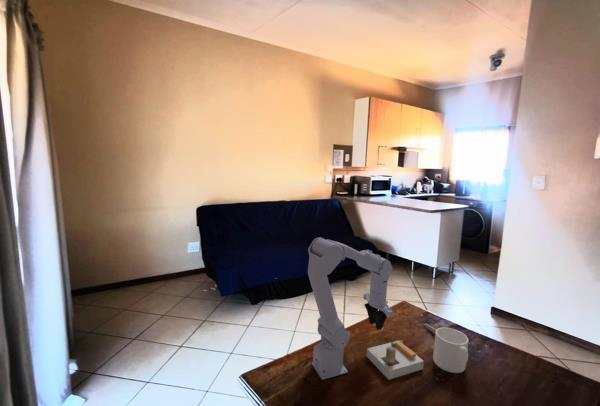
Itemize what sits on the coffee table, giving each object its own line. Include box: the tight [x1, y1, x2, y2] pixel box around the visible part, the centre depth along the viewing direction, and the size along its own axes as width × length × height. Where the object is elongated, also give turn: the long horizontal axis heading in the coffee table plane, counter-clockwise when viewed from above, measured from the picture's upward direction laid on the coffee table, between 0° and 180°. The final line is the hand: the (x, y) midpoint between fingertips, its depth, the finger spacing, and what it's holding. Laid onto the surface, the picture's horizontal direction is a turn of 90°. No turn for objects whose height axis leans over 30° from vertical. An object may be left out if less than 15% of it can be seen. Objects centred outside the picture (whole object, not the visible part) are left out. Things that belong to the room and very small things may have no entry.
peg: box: [385, 347, 396, 366], centre depth 98 cm, size 3×3×7 cm
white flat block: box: [366, 339, 425, 381], centre depth 101 cm, size 14×12×4 cm
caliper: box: [422, 323, 438, 334], centre depth 116 cm, size 20×1×6 cm, turn 10°
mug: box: [432, 327, 469, 374], centre depth 100 cm, size 13×10×10 cm
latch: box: [394, 340, 417, 358], centre depth 102 cm, size 2×8×1 cm, turn 22°
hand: (375, 326), depth 107 cm, fingers open, 3 cm apart
